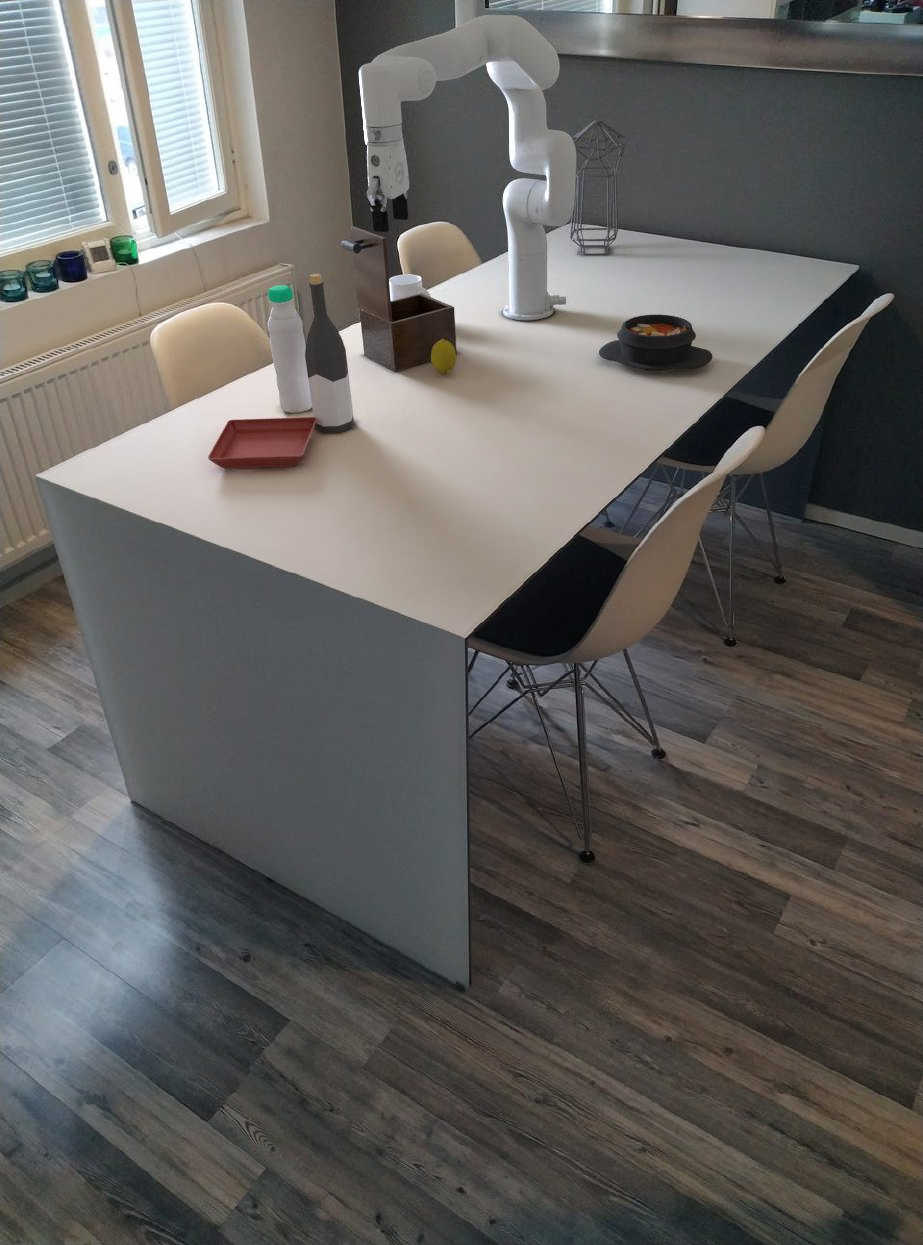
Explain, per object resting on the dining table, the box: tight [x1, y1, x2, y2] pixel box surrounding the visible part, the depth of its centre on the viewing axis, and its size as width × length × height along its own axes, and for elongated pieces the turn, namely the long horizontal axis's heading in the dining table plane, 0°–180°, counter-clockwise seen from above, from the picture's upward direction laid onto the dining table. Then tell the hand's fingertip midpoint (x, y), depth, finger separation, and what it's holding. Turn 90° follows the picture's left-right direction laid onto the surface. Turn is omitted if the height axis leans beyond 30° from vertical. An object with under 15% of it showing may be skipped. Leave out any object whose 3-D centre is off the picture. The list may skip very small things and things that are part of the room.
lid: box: [341, 225, 392, 322], centre depth 219 cm, size 18×14×6 cm
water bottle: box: [267, 284, 312, 414], centre depth 205 cm, size 7×7×25 cm
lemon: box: [430, 339, 457, 375], centre depth 222 cm, size 6×6×8 cm
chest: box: [358, 293, 458, 373], centre depth 232 cm, size 17×14×11 cm
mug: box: [389, 273, 432, 301], centre depth 251 cm, size 12×8×10 cm
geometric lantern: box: [569, 119, 626, 256], centre depth 288 cm, size 16×16×35 cm
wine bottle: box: [305, 273, 354, 434], centre depth 195 cm, size 8×8×30 cm
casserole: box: [598, 314, 713, 372], centre depth 221 cm, size 25×19×8 cm
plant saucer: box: [207, 416, 317, 469], centre depth 194 cm, size 18×18×3 cm
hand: (391, 225), depth 208 cm, fingers open, 9 cm apart
